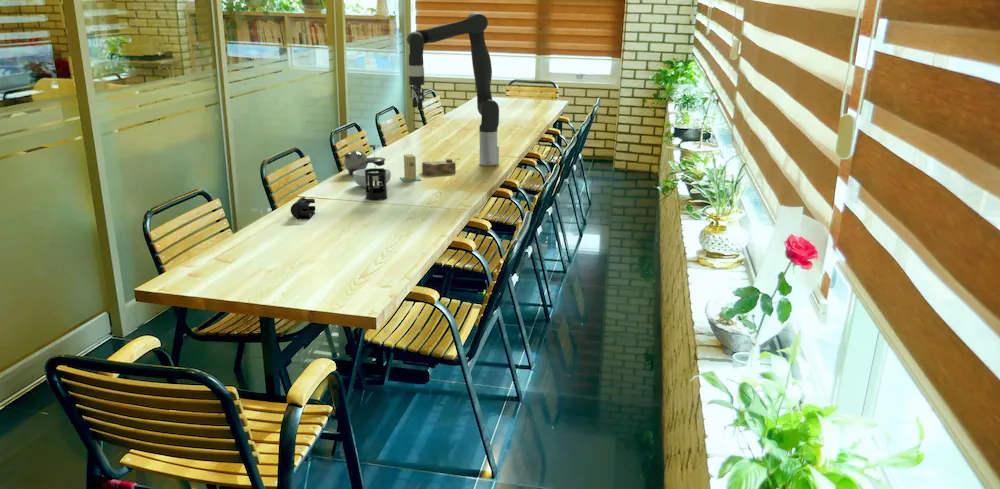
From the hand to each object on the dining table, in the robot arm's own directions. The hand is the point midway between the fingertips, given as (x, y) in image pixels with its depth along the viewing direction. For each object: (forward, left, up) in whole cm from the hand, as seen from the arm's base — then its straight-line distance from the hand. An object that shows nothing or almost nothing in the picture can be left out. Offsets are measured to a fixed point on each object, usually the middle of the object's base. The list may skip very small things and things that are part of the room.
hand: (417, 108), depth 374 cm
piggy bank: (+32, +1, -30) cm, 44 cm away
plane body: (-6, +13, -30) cm, 33 cm away
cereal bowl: (+31, +28, -30) cm, 52 cm away
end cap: (+68, +65, -30) cm, 99 cm away
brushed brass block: (+11, +21, -30) cm, 38 cm away
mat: (+11, +21, -30) cm, 38 cm away
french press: (+34, +48, -30) cm, 66 cm away
